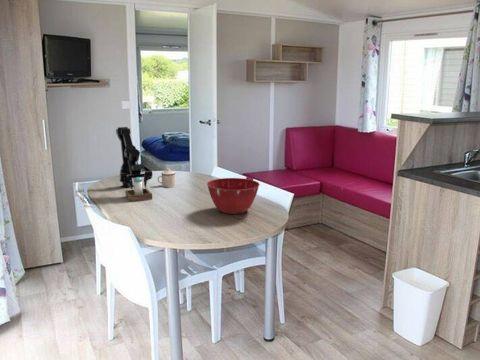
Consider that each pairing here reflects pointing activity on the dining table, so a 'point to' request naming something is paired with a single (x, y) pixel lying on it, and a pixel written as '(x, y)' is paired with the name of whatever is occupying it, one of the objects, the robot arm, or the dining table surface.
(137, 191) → the canister
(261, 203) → the dining table surface
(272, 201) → the dining table surface
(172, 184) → the teacup with lid
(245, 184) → the mixing bowl
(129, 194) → the brown wooden tray
